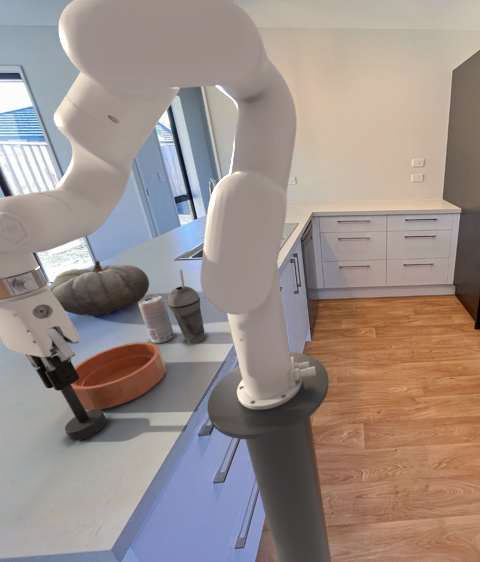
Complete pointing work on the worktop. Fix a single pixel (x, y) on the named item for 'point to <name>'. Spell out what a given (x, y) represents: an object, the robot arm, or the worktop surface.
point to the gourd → (99, 289)
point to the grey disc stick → (81, 417)
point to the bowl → (118, 375)
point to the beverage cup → (187, 312)
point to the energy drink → (156, 319)
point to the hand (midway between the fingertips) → (63, 383)
